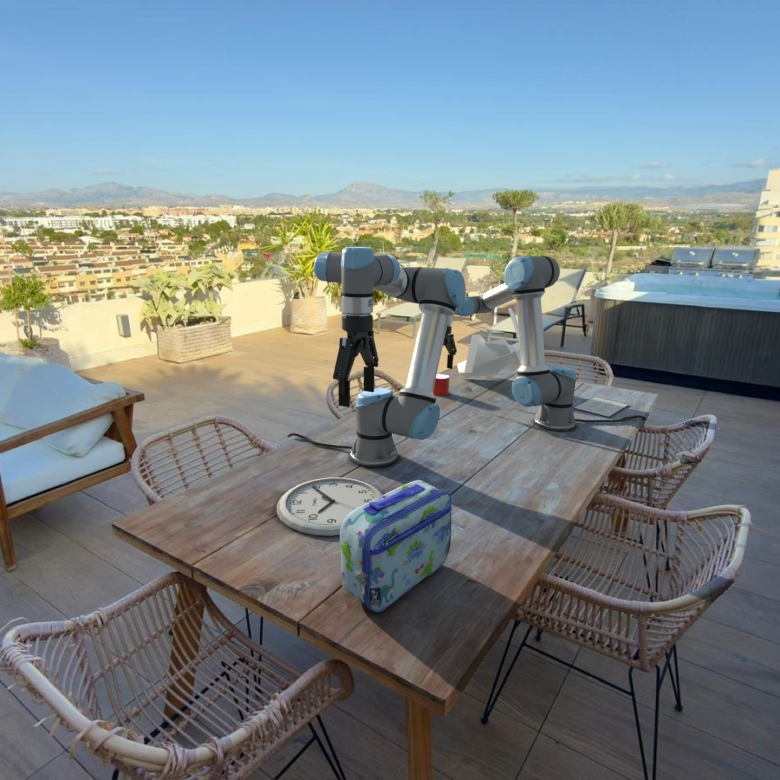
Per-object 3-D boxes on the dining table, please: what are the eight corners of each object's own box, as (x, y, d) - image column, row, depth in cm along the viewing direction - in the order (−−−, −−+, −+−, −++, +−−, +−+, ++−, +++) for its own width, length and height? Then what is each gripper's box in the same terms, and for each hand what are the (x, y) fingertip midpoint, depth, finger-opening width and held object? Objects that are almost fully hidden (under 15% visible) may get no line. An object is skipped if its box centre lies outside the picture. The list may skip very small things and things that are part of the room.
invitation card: (608, 416, 214) (573, 407, 224) (608, 416, 214) (573, 408, 224) (628, 404, 229) (594, 396, 238) (628, 405, 229) (594, 397, 238)
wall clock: (392, 527, 129) (268, 531, 127) (391, 533, 130) (269, 537, 127) (383, 473, 158) (282, 475, 155) (383, 478, 158) (282, 480, 156)
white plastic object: (478, 420, 264) (457, 397, 239) (460, 347, 286) (438, 319, 261) (549, 396, 251) (535, 369, 227) (524, 322, 273) (509, 290, 249)
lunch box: (369, 626, 100) (370, 530, 93) (334, 598, 107) (332, 507, 101) (455, 567, 117) (460, 483, 111) (419, 547, 124) (423, 467, 118)
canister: (428, 391, 243) (429, 375, 241) (443, 390, 246) (444, 373, 243) (436, 396, 236) (437, 379, 234) (451, 394, 239) (452, 377, 237)
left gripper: (346, 322, 113) (347, 415, 119) (392, 308, 135) (390, 387, 141) (316, 319, 115) (318, 410, 121) (366, 306, 137) (365, 384, 144)
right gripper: (452, 320, 243) (450, 364, 249) (418, 327, 225) (417, 374, 232) (466, 322, 238) (463, 367, 245) (432, 329, 220) (430, 378, 227)
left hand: (357, 398), depth 131 cm, fingers open, 13 cm apart
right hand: (440, 371), depth 238 cm, fingers open, 13 cm apart
